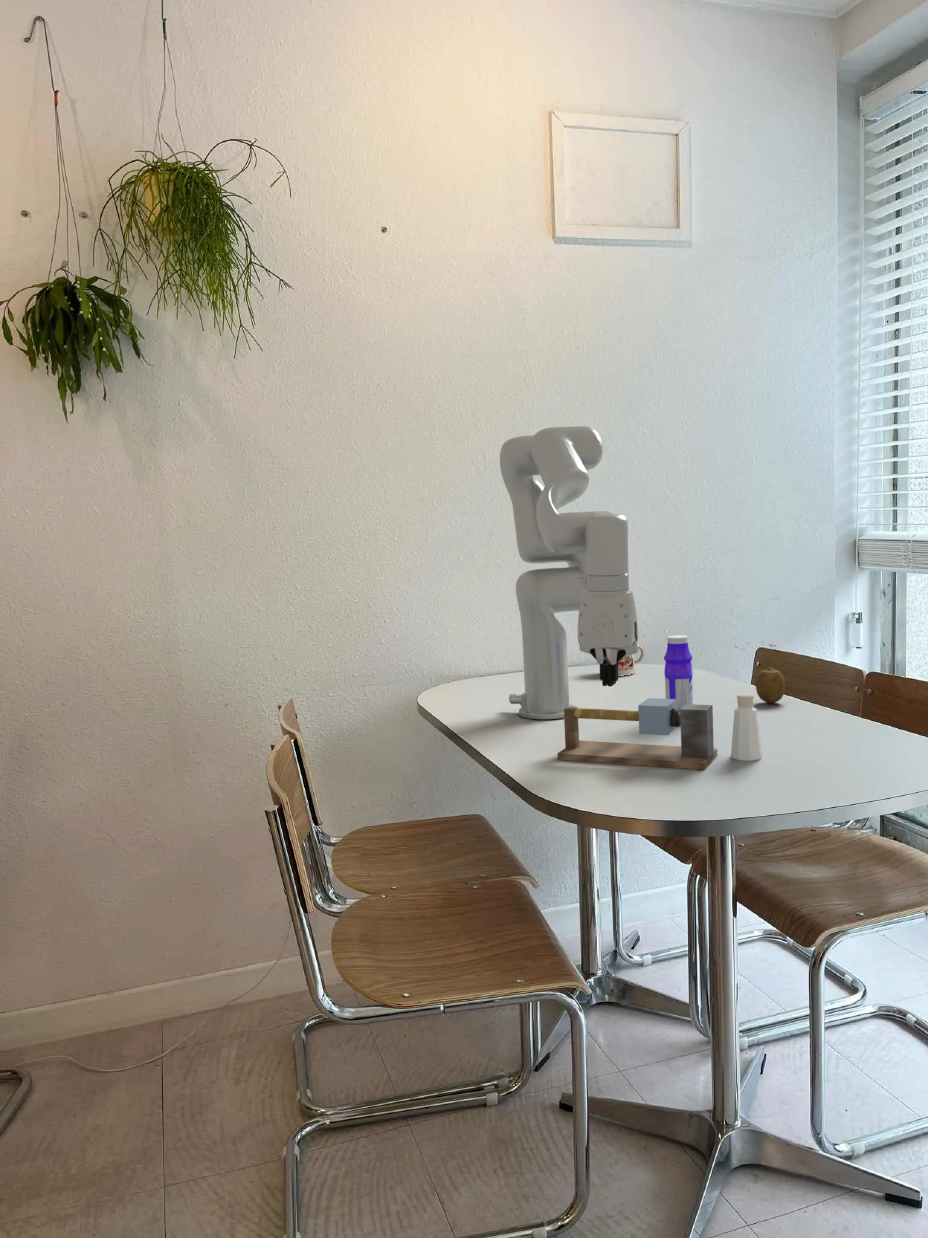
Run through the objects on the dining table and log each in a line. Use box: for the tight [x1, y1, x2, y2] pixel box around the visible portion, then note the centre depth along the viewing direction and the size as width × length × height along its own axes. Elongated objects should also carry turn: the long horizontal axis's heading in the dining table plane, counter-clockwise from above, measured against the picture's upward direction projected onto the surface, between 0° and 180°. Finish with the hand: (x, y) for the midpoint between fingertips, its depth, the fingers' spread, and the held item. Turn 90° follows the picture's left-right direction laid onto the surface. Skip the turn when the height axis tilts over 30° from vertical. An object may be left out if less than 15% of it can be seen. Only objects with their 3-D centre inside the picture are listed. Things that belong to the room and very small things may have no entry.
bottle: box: [663, 634, 694, 709], centre depth 199 cm, size 7×6×17 cm
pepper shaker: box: [730, 692, 763, 762], centre depth 168 cm, size 5×5×11 cm
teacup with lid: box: [607, 644, 645, 675], centre depth 258 cm, size 12×9×12 cm
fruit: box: [755, 666, 786, 705], centre depth 211 cm, size 6×6×8 cm
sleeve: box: [637, 697, 678, 736], centre depth 170 cm, size 5×6×5 cm
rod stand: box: [556, 703, 718, 771], centre depth 172 cm, size 26×10×10 cm, turn 64°
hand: (609, 684), depth 176 cm, fingers closed
